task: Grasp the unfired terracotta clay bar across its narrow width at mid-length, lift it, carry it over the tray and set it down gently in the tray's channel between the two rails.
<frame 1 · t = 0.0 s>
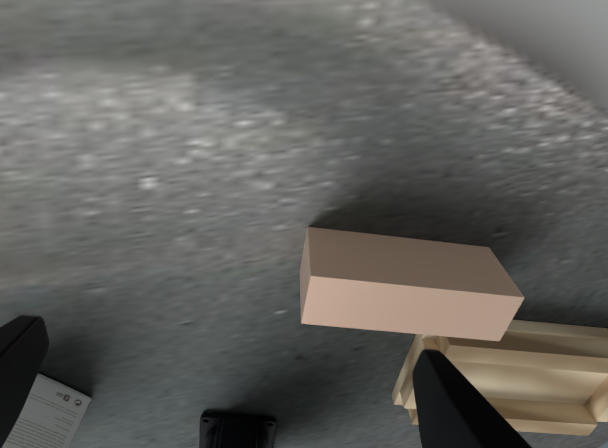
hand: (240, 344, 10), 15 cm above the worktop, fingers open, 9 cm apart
skincare box: (38, 402, 34), on the worktop
tray: (509, 364, 33), on the worktop
clay bar: (392, 257, 27), on the worktop
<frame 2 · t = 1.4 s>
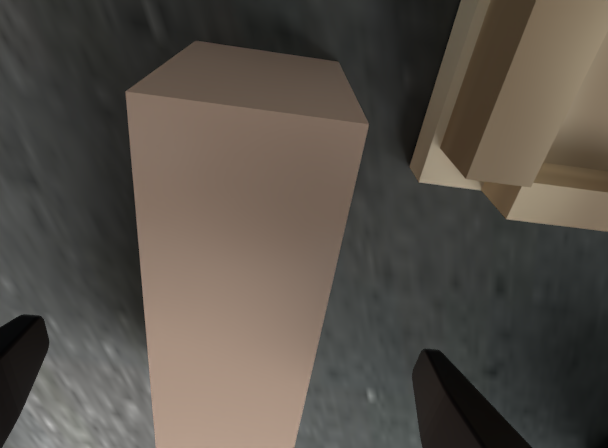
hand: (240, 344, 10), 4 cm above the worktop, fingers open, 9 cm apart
clay bar: (250, 246, 13), on the worktop
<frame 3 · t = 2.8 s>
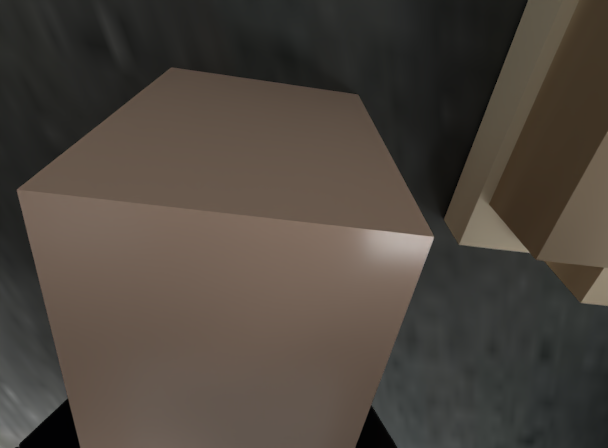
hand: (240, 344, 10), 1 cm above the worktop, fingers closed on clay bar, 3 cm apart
clay bar: (244, 312, 11), on the worktop, touching gripper
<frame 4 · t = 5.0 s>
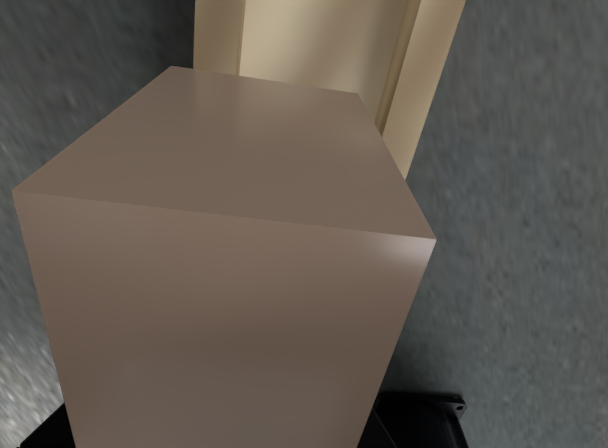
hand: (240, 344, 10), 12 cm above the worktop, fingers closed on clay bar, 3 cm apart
tray: (301, 130, 19), on the worktop
clay bar: (243, 313, 11), point 11 cm above the worktop, touching gripper
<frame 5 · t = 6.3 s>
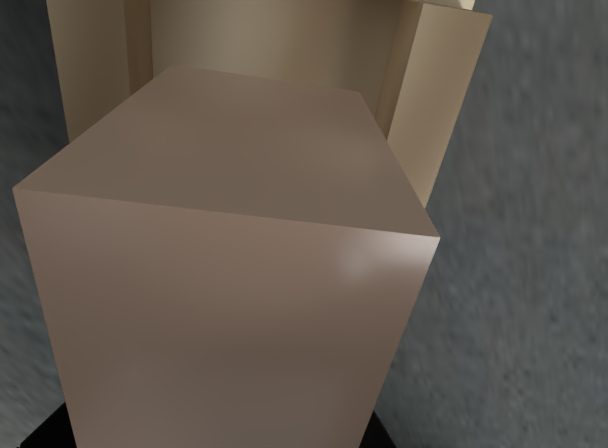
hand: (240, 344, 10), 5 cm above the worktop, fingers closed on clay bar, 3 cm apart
tray: (255, 223, 14), on the worktop
clay bar: (244, 313, 11), point 4 cm above the worktop, touching gripper
when the fingers open (3 cm above the worktop, at t = 7.4 s): clay bar drops 1 cm, resting on tray.
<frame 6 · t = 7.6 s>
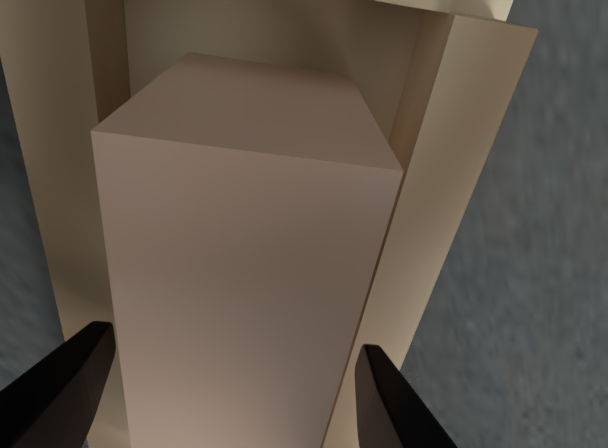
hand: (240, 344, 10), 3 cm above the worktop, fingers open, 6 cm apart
tray: (251, 256, 13), on the worktop
clay bar: (249, 278, 12), point 1 cm above the worktop, touching tray
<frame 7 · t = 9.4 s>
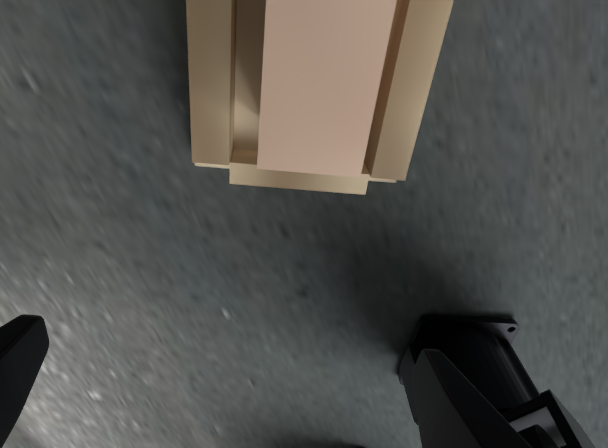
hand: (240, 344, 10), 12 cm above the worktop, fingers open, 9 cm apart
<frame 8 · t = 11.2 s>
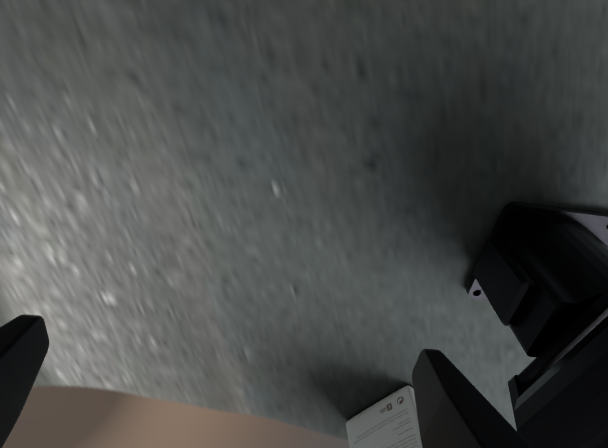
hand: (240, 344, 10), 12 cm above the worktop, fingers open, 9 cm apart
skincare box: (409, 419, 32), on the worktop
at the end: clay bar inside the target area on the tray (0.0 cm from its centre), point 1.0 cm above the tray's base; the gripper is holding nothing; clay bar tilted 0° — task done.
